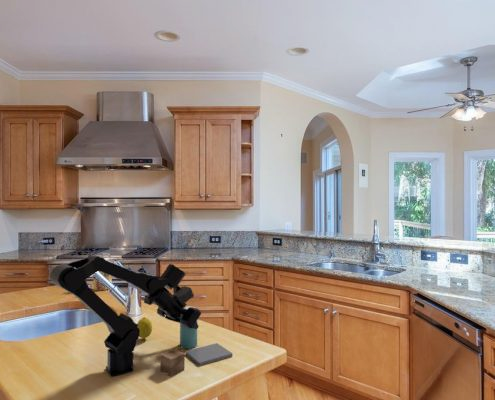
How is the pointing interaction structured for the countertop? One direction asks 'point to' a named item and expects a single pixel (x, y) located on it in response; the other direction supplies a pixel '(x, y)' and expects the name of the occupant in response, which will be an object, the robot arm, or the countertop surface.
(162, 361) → the walnut block
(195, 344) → the spice jar
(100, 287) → the candy box
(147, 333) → the lemon
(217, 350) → the slate coaster
